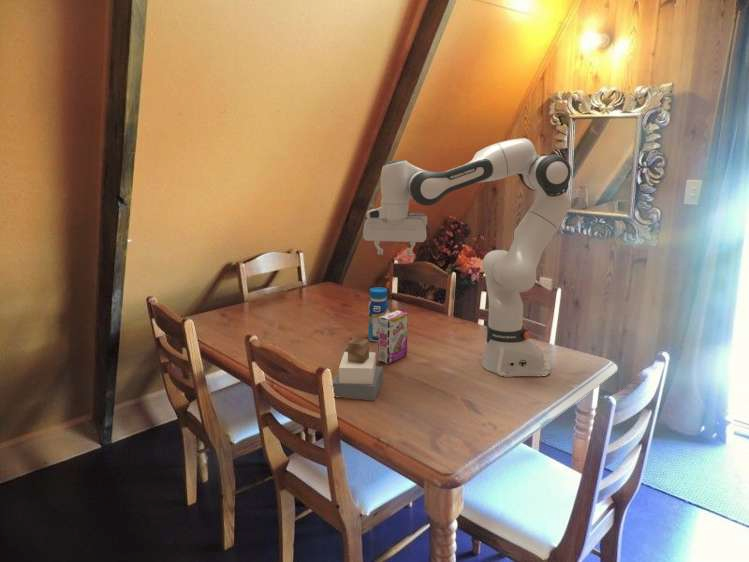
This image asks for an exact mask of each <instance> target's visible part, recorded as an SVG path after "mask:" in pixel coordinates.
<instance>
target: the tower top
mask: <svg viewBox="0 0 749 562" xmlns="http://www.w3.org/2000/svg"><path fill="white" fill-rule="evenodd" d="M376 353H377V352H374V351H369V358H368V359H367V360H366V361H365V362H364V363H355V362H348V352H344V355H343V354H342V358H341V361H340V364H339V366H338V372H339V383H345V384H373V379H374V374H375V369H376V366H377V356H376Z"/></svg>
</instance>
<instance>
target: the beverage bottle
mask: <svg viewBox="0 0 749 562" xmlns="http://www.w3.org/2000/svg"><path fill="white" fill-rule="evenodd" d="M369 298H370V300H369V302H368V304H367V309H368V310H367V317H368V319H367V321H368V322H367V323H368V324H367V325H368V336H367V337H368V339H369V341H371V342H374V341H375V343H378V321H379V318H378V317H381V316H383V315H386V314H389V313H391V312H390V310H389V309H390V304H389V301H388V300H387V298H388V289H387V288H385V287H372V288H370V289H369Z"/></svg>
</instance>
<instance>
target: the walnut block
mask: <svg viewBox="0 0 749 562" xmlns="http://www.w3.org/2000/svg"><path fill="white" fill-rule="evenodd" d="M352 338H353V339H352V340H350V339H349V341H348V342H347V345H348V362H355V363H364V362H365V361H366V360H367V359H368V358H369V352H370V345H369V343H370V342H369V341H370V340H369V338H368V339H367V338H358V337H352Z"/></svg>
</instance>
